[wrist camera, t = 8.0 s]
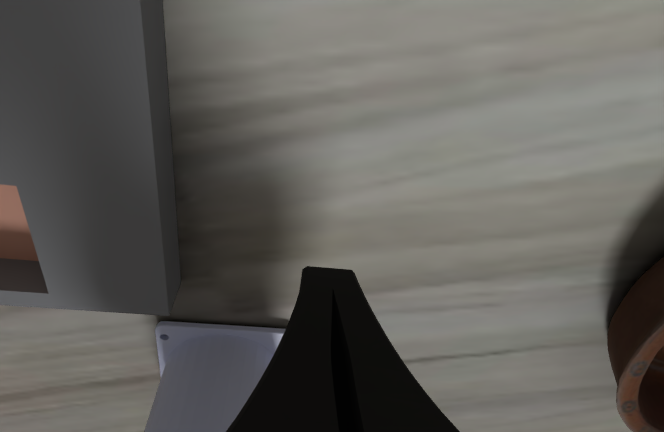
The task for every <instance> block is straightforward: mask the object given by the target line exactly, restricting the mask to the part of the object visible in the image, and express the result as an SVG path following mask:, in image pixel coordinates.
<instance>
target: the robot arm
mask: <svg viewBox="0 0 664 432" xmlns="http://www.w3.org/2000/svg"><path fill="white" fill-rule="evenodd" d="M155 334H156V342H157V350H158V358H159V367H160V375H161V380H160V383H159V387H158V390H157V393H156V396H155V399H154V402H153V405H152V409H151V412H150V415H149V418H148V421H147V424H146V427H145V430H144V432H460V431H459V430H458V429H457V428H456V427H455V426H454V425H453V424H452V423H451V422H450V421H449V419H448V418H447V417H446V416H445V415H444V414H443V413H442V412H441V411H440V409H439V408H438V407H437V406H436V404H435V403H434V402H433V401H432V400H431V398H430V397H429V396H428V395H427V393H426V392H425V391H424V390H423V388H422V387H421V386H420V384H419V383H418V382H417V380H416V379H415V378H414V376H413V375H412V374H411V372H410V371H409V370H408V368H407V367H406V365H405V364H404V362H403V361H402V359H401V358H400V356H399V355H398V353H397V352H396V350H395V349H394V347H393V346H392V344H391V342H390V341H389V339H388V338H387V336H386V334H385V332H384V331H383V329H382V327H381V325H380V324H379V322H378V320H377V319H376V317H375V315H374V313H373V311H372V309H371V307H370V305H369V303H368V302H367V300H366V298H365V296H364V293H363V291H362V289H361V287H360V285H359V283H358V280H357V278H356V276H355V273H354V272H353V271H352V270H346V269H334V268H321V267H309V266H307V267H305V268H304V269H303V270H302V277H301V284H300V291H299V295H298V298H297V301H296V304H295V307H294V310H293V312H292V315H291V318H290V320H289V323H288V325H287V328H286V329H281V328H266V327H250V326H234V325H218V324H203V323H187V322H171V321H161V322H159V323H158V324H157V326H156V328H155ZM164 334H165V335H164Z"/></svg>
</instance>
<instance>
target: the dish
mask: <svg viewBox="0 0 664 432" xmlns="http://www.w3.org/2000/svg"><path fill="white" fill-rule="evenodd" d="M608 352H609V357H610V362H611V366H612V370H613V373H614V376H615V379H616V383H617V386H618V387H617V396H616V403H617V409H618V412H619V414H620V416H621V418H622V420H623V421H624V423H625V424H626V425H627V427H628V428H629V429H630V430H631V431H633V432H664V257H663V258H662V259H660V260H659V261H658V262H656V263H655V264H654V265H653V266H652V267H651V268H650V269H649V270H648V271H647V272H645V273H644V274H643V275H642V276H641V277H640V278H639V279H638V280H637V282H636V283H635V284H634V285H633V286H632V287H631V289H630V290H629V292H628V293H627V295H626V296H625V297H624V299H623V300H622V302H621V303H620V305H619V307H618V308H617V310H616V312H615V314H614V315H613V317H612V319H611V323H610V326H609V330H608Z"/></svg>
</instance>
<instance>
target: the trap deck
mask: <svg viewBox="0 0 664 432" xmlns="http://www.w3.org/2000/svg"><path fill="white" fill-rule="evenodd" d="M180 283H181V274H180V259H179V244H178V229H177V213H176V198H175V183H174V168H173V153H172V138H171V122H170V107H169V92H168V77H167V62H166V46H165V31H164V16H163V1H162V0H0V305H9V306H25V307H40V308H56V309H71V310H86V311H102V312H117V313H133V314H148V315H163V316H169V315H170V312H171V309H172V306H173V303H174V300H175V297H176V295H177V292H178V289H179V286H180Z"/></svg>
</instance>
